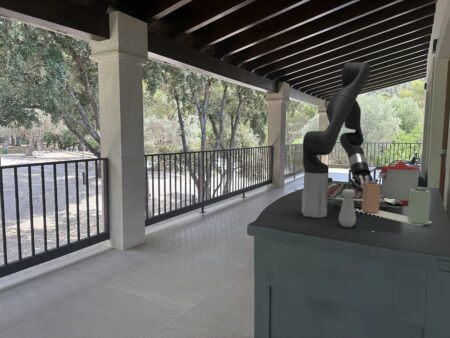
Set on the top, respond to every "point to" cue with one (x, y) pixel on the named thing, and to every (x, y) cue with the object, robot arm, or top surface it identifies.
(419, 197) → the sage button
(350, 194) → the salt shaker
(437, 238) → the top surface
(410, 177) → the red roofed toy house
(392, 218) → the button board
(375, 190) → the light brown tall block
